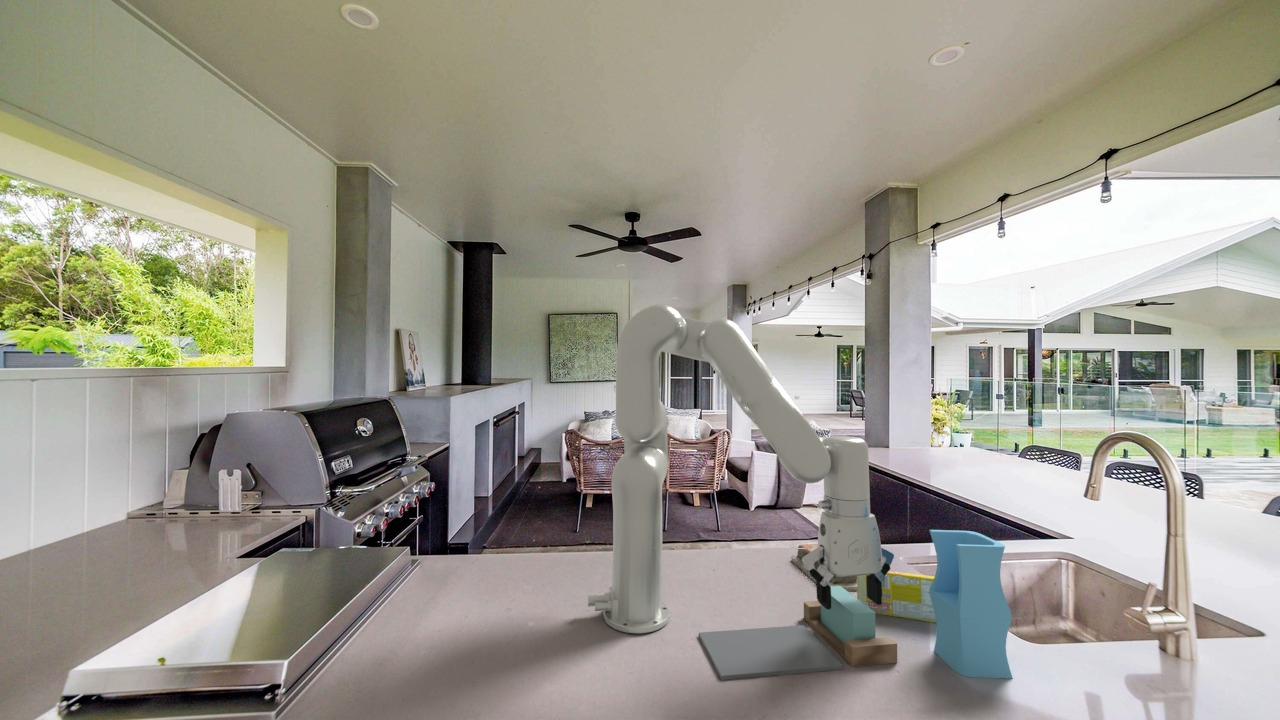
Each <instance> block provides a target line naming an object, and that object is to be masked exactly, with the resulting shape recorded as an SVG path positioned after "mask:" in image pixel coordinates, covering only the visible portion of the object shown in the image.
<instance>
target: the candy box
mask: <svg viewBox="0 0 1280 720" xmlns="http://www.w3.org/2000/svg"><path fill="white" fill-rule="evenodd" d="M868 575H870V574H868ZM866 577H867V575H857V591H856V593H857V597H856V598H857V599H858V600H860V601H861V602H862V603H864V604H865V605H866V606H868V607H869V608H870V609H872V610H873V611H874V612H875V614H878V615H885V616H890V617H895V618H903V619H910V620H914V621H915V620H916V621H921V622H927V623H928V622H929V623H934V624H937V623H936V617H935V612H934V608H933V604H932V601H931V598H930V590H929V589H930V587H931V584H932V582H933V580H934V577H935V575H925V574H918V573H911V572H910V573H909V572H902V571H895V570H889V571H888V572H887V574H886V575H885V580H884V581H883V582H882V604H881V605H878V604H876V603H875V602H873V601H872V600H870V599H869V598H868V597H867V582H866Z"/></svg>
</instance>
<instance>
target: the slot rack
mask: <svg viewBox="0 0 1280 720" xmlns="http://www.w3.org/2000/svg"><path fill="white" fill-rule="evenodd" d="M803 619H804V620H805V621H806V622H807V623H808V624H809V625H810V626H811V627H812V628H813V629H815V631H816V632H817V633H818V635H820V636H821V637H822V638H823V639H824V640H825V641H826V642H827V643H828V644H829V645H830V646H831V647H832V648H833V649H834V650H835V651H836V652H837V653H838V654H839V655H840V656H841V657H843V659H844V660H845V661H846V662H847V663H848V664H850V666H851V667H852V668H853V667H862V666H871V665H872V666H874V665H875V666H876V665H885V664H897V663H898V643H897V642H895V640H893V639H892V638H891V637H890V636H882V637H875V638H867V639H855V640H845V645H844V644H843V643H842V642H841V641H840V640H839V639H838V638H837V637H836V636H835V635H833V634H832V633H831V632H830V631H829V630H828V629H827V628H826V627H825V626H824V625H823V624H822V623H821V604H820V603H819V602H818V600H813V601H811V600H810V601H809V600H808V601H803Z"/></svg>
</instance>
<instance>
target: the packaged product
mask: <svg viewBox="0 0 1280 720" xmlns="http://www.w3.org/2000/svg"><path fill="white" fill-rule="evenodd" d="M813 547H818V543H815V544H814V543H812V544H799V545H798V547H797V554H796V555H792V556H791V557H790V558H791V561H792V563H794V565H796V566H797V567H798V568H799V569H800V570H801V571H802V572H803V573H804V574H806V575H807V576H808V577H809V578H810V579H811V580H813V582H815V583H816V580H815V579H814V578H813V577H812V576H811V575H810V574H809V573H808V572H807V569H806V568H805V566H804V564H803V562H802V558H803V557H804V556H805V555H807V554H809V553H810V552H812V551H813V550H815V549H816V548H813ZM798 548H806V549H798ZM819 566H820V565H819V562H818V560H817V561H816V562H815V563H814V567H815V569H816V570H817V569H818V567H819ZM826 571H827V570H826ZM824 574H825V573H824ZM828 585H829V586H841V587H843V588H844V589H845V590H846V591H848V592H854V591H855V592H857V575H856V576H834V575H833V577H832V578H831V580H830V581H829V583H828Z"/></svg>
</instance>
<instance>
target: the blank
mask: <svg viewBox="0 0 1280 720" xmlns="http://www.w3.org/2000/svg"><path fill="white" fill-rule="evenodd" d="M830 587H831V609H828V610H827V609H826V608H825V607H824V606H822V605H821V623H822V624H823V625H824V626H825V627H826V628H827V629H828V630H829V631H830V632H831V633H832V634H833V635H835V636H836V637H837V638H838V639H839V640H840V641H841V642H842V643H843V644H844V645H845V640H855V639H867V638H876V613H875V612H874V611H873V610H872V609H870V608H869V607H868V606H866V605H865V604H864V603H862V602H861V601H860V600H858V599H857V597H855V596H854V595H853V594H852V593H850V591H846V590H845V589H844V588H843V587H841V586H830Z"/></svg>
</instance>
